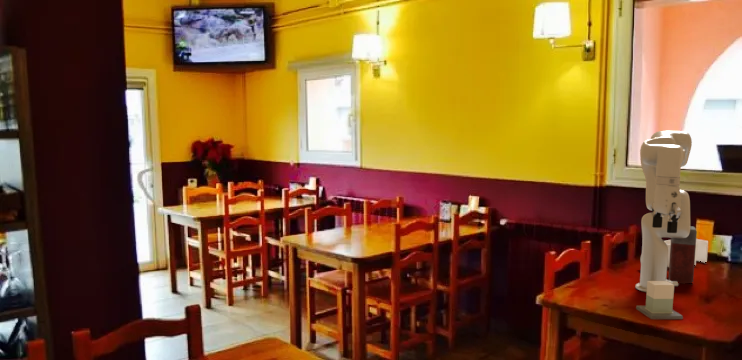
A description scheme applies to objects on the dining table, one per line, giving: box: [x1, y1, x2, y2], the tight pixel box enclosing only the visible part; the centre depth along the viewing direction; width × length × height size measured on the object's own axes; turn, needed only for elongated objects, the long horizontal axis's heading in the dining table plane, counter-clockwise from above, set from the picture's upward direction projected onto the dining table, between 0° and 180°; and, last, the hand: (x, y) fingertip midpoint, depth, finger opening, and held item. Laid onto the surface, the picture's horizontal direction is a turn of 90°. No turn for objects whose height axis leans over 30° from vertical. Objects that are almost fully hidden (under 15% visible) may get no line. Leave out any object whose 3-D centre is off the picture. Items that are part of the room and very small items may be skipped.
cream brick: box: [646, 281, 675, 300], centre depth 206 cm, size 7×5×5 cm
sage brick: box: [645, 295, 674, 313], centre depth 207 cm, size 7×5×5 cm
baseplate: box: [635, 305, 684, 320], centre depth 207 cm, size 11×11×1 cm
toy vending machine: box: [667, 225, 698, 284], centre depth 251 cm, size 9×11×28 cm
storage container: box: [663, 238, 709, 268], centre depth 281 cm, size 25×11×11 cm, turn 123°
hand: (664, 230), depth 204 cm, fingers open, 9 cm apart
